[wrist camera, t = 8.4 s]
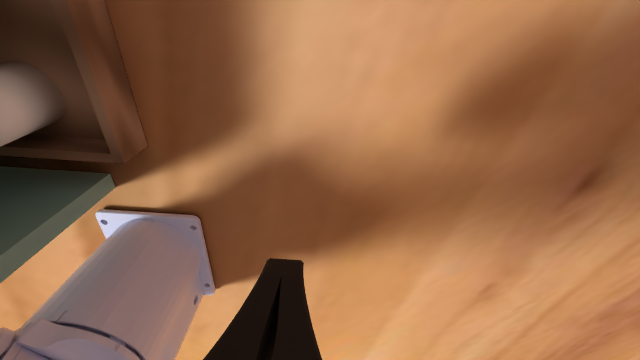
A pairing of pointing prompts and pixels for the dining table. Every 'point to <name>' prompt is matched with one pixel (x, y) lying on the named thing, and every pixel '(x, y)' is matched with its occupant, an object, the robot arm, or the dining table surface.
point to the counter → (42, 208)
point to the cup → (27, 101)
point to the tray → (73, 80)
